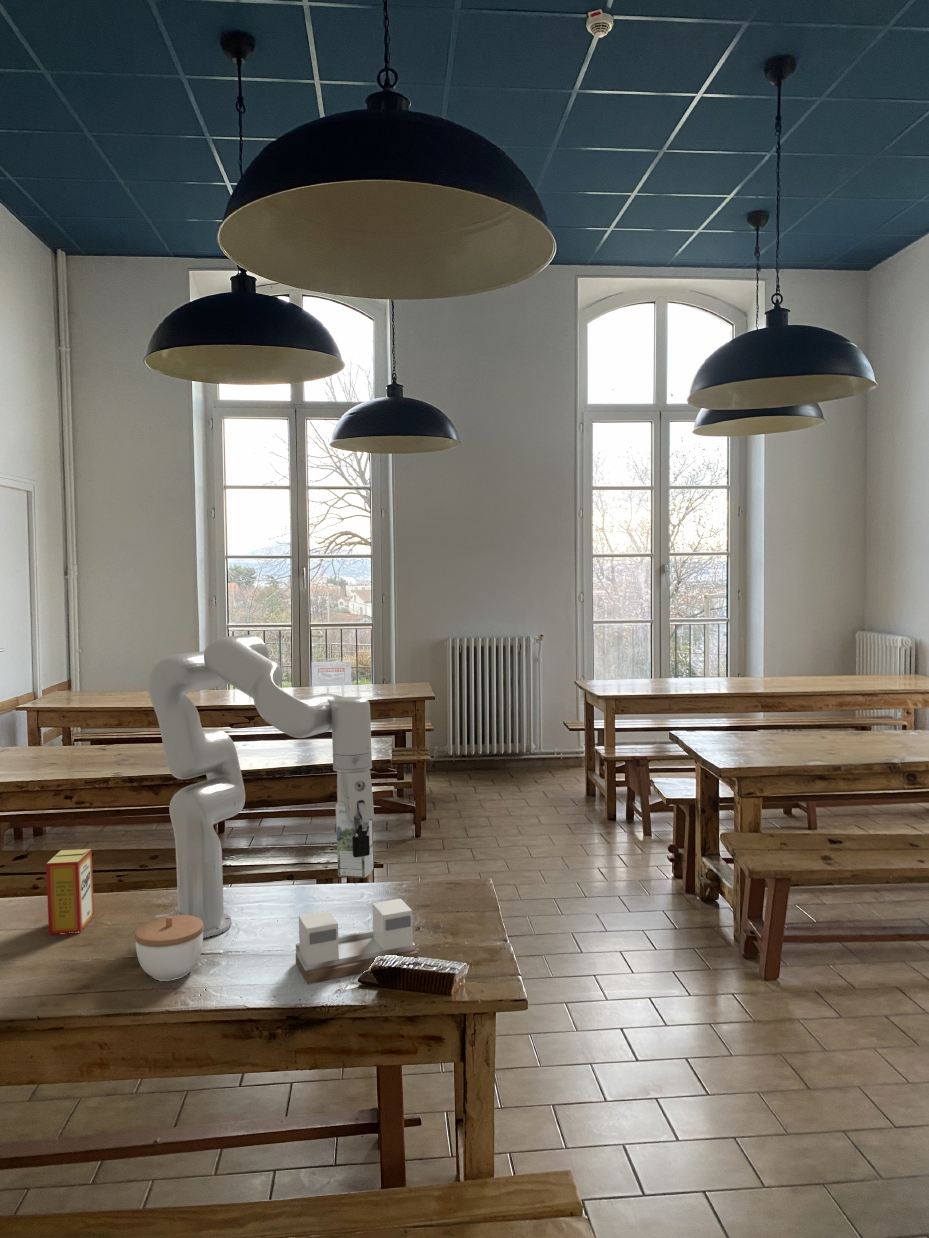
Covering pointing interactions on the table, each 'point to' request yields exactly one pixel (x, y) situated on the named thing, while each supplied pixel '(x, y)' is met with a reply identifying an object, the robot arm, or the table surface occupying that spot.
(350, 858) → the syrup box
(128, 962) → the table surface
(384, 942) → the mounted modules
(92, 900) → the baking soda box
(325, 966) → the rail board
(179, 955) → the lidded bowl
